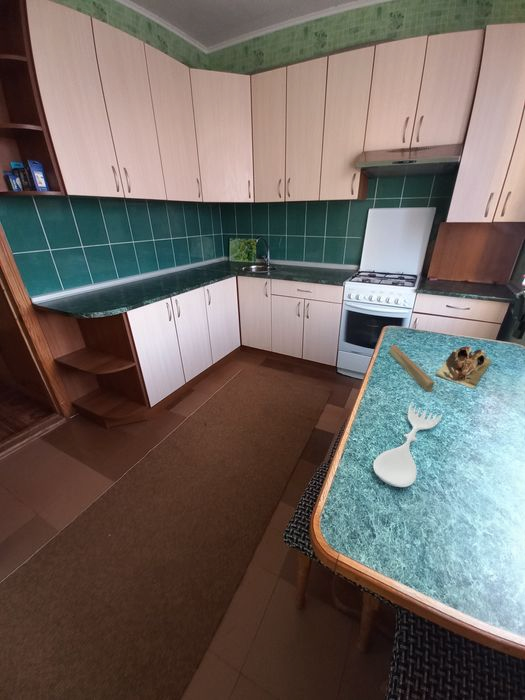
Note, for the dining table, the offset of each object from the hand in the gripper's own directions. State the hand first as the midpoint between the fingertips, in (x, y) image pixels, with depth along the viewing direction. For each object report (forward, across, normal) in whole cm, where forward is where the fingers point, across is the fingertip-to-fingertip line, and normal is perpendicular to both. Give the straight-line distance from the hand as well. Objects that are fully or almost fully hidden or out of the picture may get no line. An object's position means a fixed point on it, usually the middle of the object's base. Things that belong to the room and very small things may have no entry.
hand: (516, 337), depth 105 cm
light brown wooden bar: (+12, +38, 0) cm, 40 cm away
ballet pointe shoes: (+12, +16, 0) cm, 20 cm away
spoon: (+12, +57, +38) cm, 69 cm away
